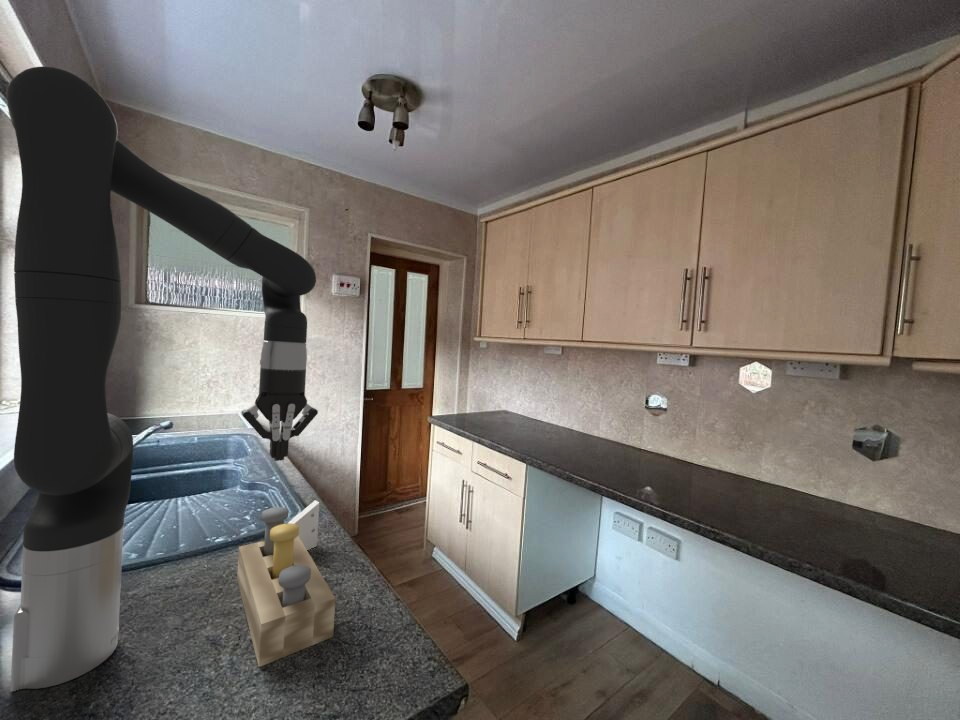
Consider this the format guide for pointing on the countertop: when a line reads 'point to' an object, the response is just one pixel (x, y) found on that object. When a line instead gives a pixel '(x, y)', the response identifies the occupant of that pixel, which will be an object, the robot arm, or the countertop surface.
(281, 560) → the ochre plug
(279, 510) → the grey plug far
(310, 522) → the white wedge bracket
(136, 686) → the countertop surface
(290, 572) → the grey plug near
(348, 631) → the countertop surface
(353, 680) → the countertop surface
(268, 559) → the block
